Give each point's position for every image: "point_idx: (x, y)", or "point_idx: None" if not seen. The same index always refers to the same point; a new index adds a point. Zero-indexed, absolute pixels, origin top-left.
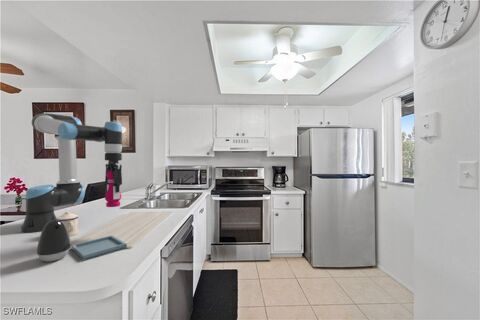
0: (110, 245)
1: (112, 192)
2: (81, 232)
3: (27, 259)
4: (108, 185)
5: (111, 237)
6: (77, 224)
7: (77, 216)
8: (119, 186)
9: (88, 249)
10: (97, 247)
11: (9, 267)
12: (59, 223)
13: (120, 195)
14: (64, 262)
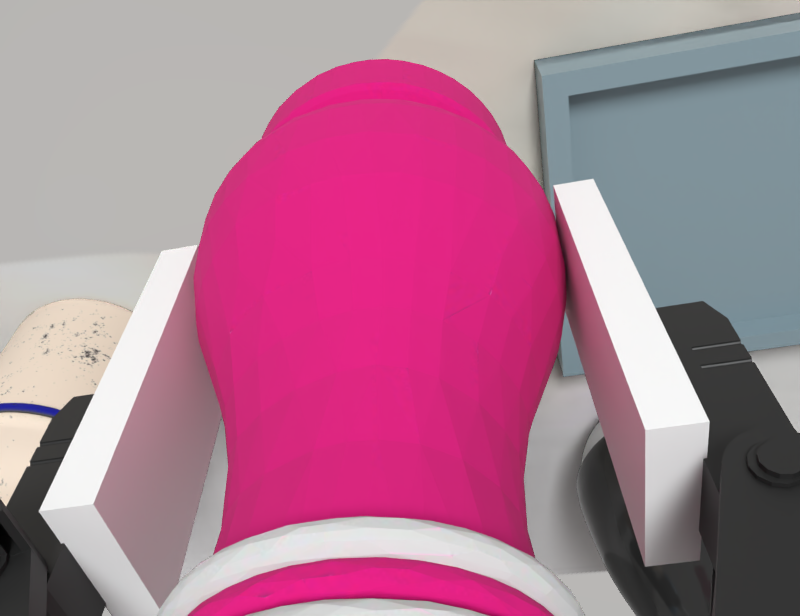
0: (769, 122)
1: (535, 412)
2: (86, 269)
3: (540, 518)
4: (168, 586)
5: (594, 88)
6: (76, 356)
7: (47, 420)
8: (698, 404)
9: (704, 277)
10: (719, 219)
11: (600, 560)
12: None
13: (495, 169)
14: (775, 390)
